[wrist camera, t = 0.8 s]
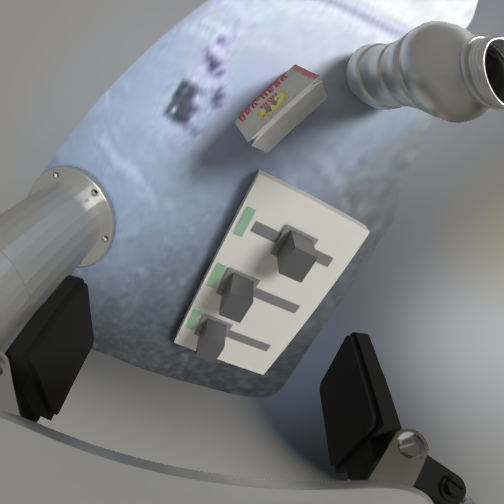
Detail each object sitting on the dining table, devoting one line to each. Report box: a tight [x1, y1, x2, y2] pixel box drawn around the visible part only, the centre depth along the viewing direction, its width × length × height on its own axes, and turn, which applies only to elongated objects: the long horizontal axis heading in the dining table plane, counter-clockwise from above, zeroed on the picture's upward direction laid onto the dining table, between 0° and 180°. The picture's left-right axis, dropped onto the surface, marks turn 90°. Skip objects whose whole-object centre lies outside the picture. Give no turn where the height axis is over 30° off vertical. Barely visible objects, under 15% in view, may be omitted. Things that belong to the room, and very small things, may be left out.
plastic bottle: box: [346, 21, 504, 123], centre depth 18 cm, size 6×7×20 cm
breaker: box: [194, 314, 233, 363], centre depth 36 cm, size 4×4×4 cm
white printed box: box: [234, 65, 328, 153], centre depth 24 cm, size 4×7×10 cm, turn 136°
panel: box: [174, 169, 370, 375], centre depth 37 cm, size 24×13×2 cm, turn 153°
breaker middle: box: [216, 267, 260, 323], centre depth 33 cm, size 4×4×4 cm
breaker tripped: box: [270, 224, 318, 283], centre depth 31 cm, size 4×4×4 cm
